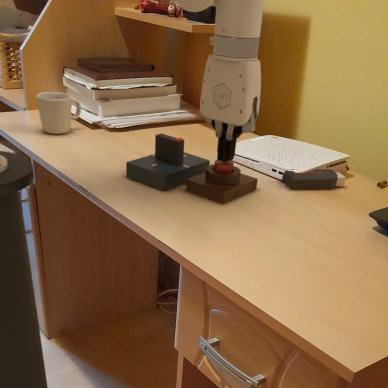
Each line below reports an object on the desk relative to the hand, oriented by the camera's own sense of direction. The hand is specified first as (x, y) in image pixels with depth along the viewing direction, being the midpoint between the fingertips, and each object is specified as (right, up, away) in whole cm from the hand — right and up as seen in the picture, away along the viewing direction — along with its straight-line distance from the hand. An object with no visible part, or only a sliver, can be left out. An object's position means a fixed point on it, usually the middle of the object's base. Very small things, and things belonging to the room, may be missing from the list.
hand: (225, 159), depth 97 cm
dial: (-11, +2, +6) cm, 13 cm away
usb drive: (+19, -2, +9) cm, 21 cm away
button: (0, -2, +1) cm, 2 cm away
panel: (-11, 0, +8) cm, 14 cm away
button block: (-1, -5, +3) cm, 6 cm away
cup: (-38, +17, +29) cm, 51 cm away
